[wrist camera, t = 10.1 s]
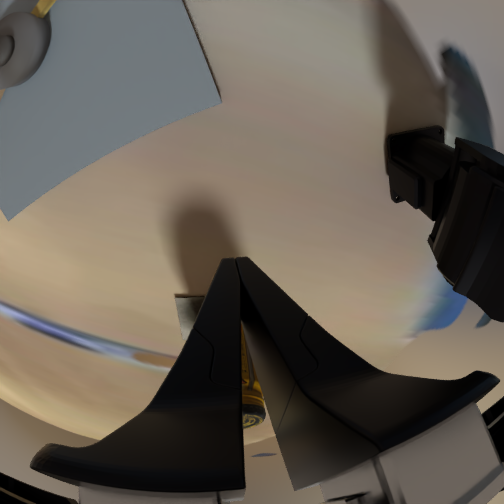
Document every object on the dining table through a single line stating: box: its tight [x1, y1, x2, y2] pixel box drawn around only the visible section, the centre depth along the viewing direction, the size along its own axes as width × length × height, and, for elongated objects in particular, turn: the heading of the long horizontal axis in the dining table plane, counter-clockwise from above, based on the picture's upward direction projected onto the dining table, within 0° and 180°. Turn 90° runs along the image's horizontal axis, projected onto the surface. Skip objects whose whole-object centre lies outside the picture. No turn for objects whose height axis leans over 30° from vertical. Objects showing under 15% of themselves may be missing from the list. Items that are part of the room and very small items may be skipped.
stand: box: [0, 0, 222, 221], centre depth 11 cm, size 22×20×3 cm
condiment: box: [175, 297, 266, 429], centre depth 25 cm, size 7×8×12 cm
